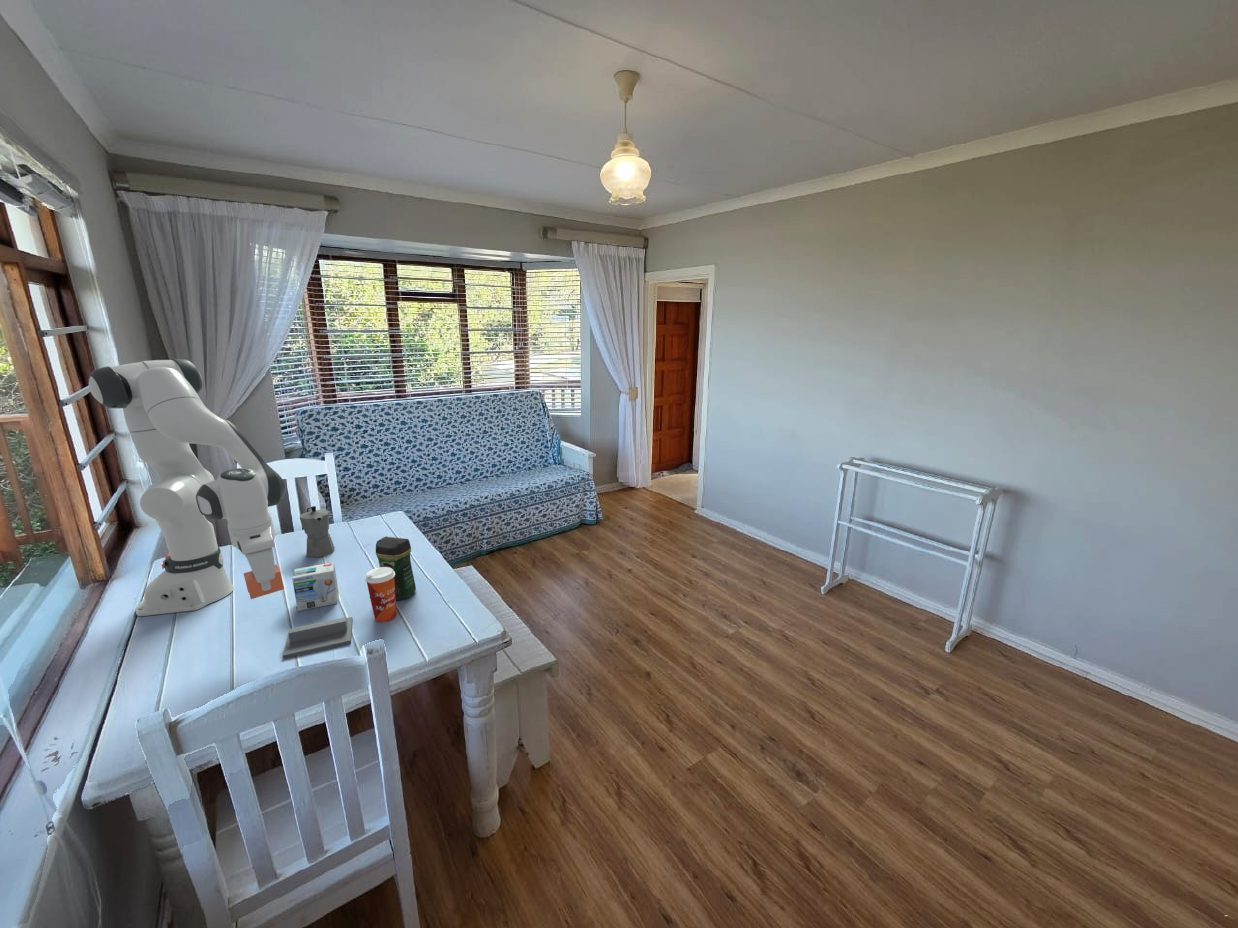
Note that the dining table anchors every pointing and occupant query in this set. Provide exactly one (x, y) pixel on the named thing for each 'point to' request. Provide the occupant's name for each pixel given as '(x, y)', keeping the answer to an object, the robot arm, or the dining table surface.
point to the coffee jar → (397, 564)
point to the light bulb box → (315, 586)
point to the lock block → (255, 587)
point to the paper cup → (382, 593)
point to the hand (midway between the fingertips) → (264, 584)
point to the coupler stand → (318, 637)
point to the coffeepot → (317, 532)
